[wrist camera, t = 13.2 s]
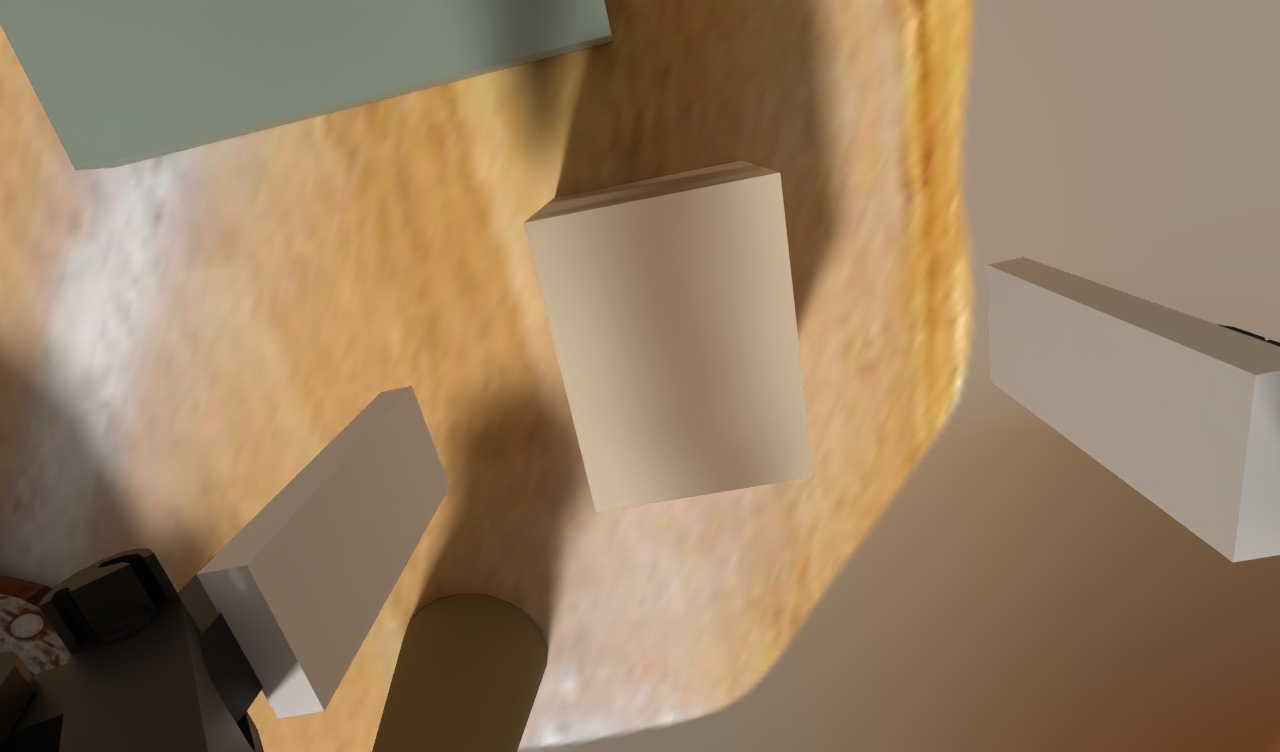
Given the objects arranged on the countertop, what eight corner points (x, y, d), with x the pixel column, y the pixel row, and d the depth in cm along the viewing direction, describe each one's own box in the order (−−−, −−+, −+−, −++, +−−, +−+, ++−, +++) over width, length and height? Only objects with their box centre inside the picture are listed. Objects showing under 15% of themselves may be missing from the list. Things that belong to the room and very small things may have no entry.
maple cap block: (606, 420, 24) (595, 512, 18) (555, 196, 21) (523, 222, 15) (771, 392, 23) (813, 476, 18) (741, 160, 20) (780, 172, 15)
